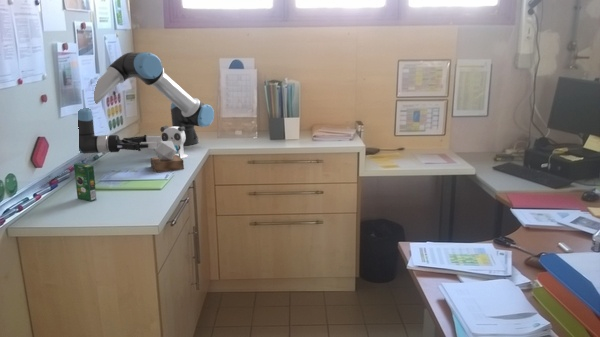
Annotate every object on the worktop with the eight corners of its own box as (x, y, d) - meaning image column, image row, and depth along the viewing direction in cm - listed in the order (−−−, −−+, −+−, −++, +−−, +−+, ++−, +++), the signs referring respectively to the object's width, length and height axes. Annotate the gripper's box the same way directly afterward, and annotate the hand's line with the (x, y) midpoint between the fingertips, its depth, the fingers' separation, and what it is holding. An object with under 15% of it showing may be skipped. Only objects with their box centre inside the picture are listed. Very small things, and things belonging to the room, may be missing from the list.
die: (165, 164, 234) (177, 144, 235) (148, 153, 235) (160, 134, 236) (170, 166, 242) (182, 147, 243) (154, 156, 243) (166, 137, 244)
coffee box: (97, 199, 196) (94, 164, 193) (91, 202, 194) (87, 166, 191) (84, 196, 201) (79, 162, 197) (77, 198, 198) (72, 163, 195)
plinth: (177, 163, 250) (177, 154, 249) (183, 168, 239) (183, 160, 238) (151, 166, 245) (150, 157, 244) (156, 172, 234) (155, 163, 233)
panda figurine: (158, 158, 260) (155, 127, 256) (171, 153, 270) (169, 124, 266) (179, 160, 256) (177, 129, 252) (192, 155, 266) (190, 125, 262)
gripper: (116, 146, 250) (163, 144, 251) (102, 158, 225) (154, 156, 227) (115, 130, 248) (162, 128, 250) (101, 140, 224) (153, 139, 226)
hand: (158, 142), depth 238 cm, fingers open, 13 cm apart
